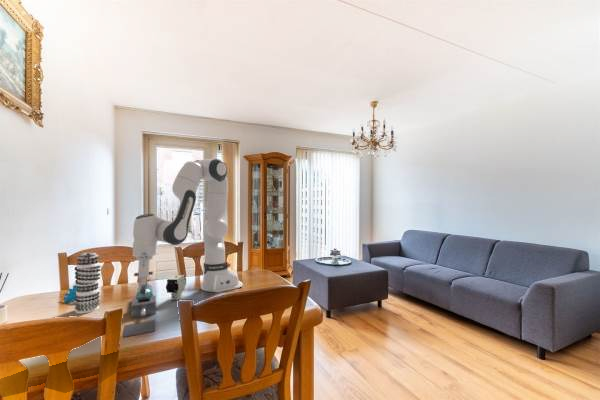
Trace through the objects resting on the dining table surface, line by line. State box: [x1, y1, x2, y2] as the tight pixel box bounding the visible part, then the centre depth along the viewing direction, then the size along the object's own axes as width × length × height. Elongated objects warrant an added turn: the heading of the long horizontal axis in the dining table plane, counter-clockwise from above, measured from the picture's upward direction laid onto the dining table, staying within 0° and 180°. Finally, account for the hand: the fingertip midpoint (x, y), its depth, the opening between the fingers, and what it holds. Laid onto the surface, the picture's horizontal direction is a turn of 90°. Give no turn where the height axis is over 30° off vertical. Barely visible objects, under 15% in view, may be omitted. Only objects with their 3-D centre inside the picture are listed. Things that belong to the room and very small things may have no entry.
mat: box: [122, 319, 156, 338], centre depth 104 cm, size 10×10×1 cm
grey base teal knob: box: [130, 283, 157, 319], centre depth 123 cm, size 9×29×7 cm, turn 29°
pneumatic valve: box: [165, 274, 187, 301], centre depth 135 cm, size 6×12×12 cm, turn 178°
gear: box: [62, 284, 77, 304], centre depth 132 cm, size 11×6×10 cm
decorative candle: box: [73, 251, 101, 314], centre depth 121 cm, size 9×9×25 cm
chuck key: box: [133, 271, 154, 294], centre depth 119 cm, size 7×3×11 cm, turn 119°
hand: (143, 283), depth 119 cm, fingers closed on chuck key, 3 cm apart
